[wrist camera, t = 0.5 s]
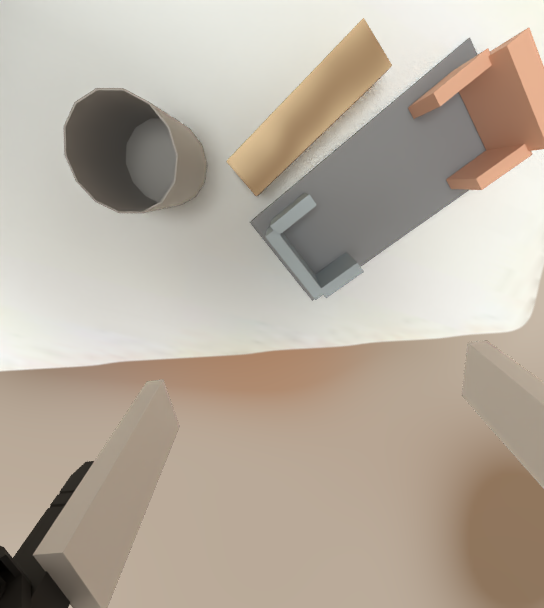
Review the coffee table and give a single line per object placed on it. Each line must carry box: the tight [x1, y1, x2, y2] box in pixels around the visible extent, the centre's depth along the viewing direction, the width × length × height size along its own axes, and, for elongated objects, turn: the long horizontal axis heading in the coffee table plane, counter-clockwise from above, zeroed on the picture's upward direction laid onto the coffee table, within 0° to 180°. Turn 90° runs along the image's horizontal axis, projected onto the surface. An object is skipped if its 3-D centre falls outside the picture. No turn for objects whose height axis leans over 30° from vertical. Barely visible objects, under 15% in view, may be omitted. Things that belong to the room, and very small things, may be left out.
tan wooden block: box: [226, 18, 392, 196], centre depth 27 cm, size 4×15×5 cm, turn 132°
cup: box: [64, 88, 207, 213], centre depth 26 cm, size 8×8×10 cm
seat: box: [250, 38, 486, 301], centre depth 29 cm, size 12×26×5 cm, turn 129°
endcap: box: [408, 28, 544, 190], centre depth 26 cm, size 9×6×7 cm, turn 39°
